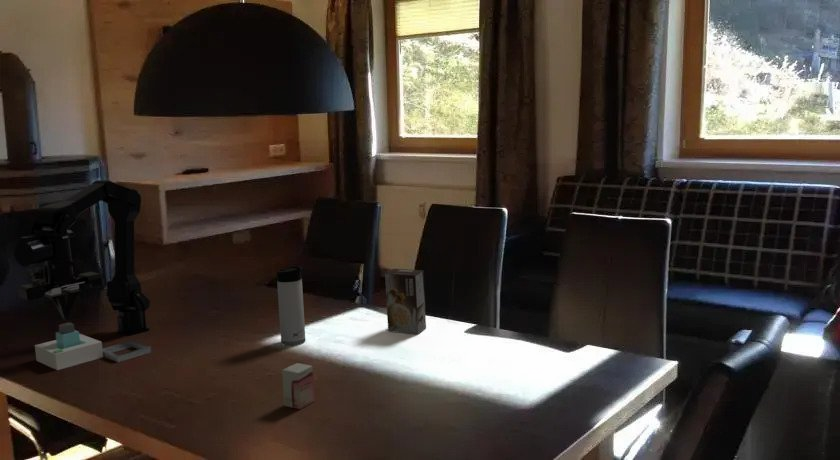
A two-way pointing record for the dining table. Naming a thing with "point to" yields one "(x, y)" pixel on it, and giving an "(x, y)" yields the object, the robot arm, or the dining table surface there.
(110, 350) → the open square ring
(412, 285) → the coffee box
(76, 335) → the plug
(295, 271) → the travel mug
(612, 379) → the dining table surface
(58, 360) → the frame
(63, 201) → the robot arm
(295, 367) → the small box
